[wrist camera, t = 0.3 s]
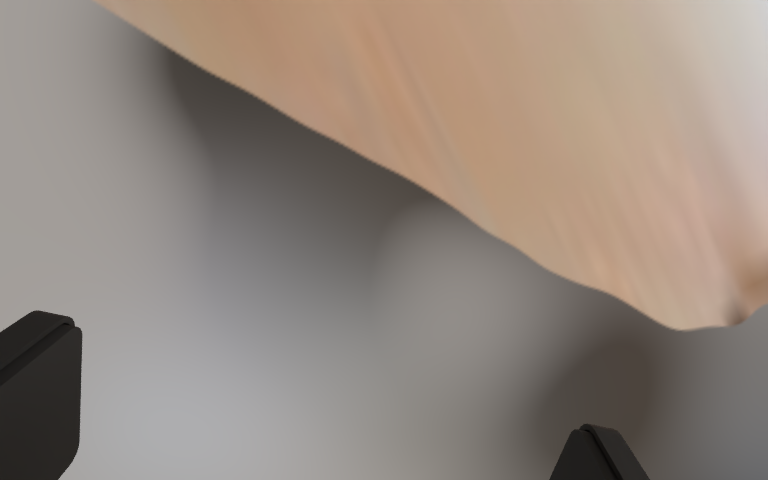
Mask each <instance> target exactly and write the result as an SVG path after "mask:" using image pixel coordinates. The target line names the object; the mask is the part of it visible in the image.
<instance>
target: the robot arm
mask: <svg viewBox="0 0 768 480" xmlns="http://www.w3.org/2000/svg"><path fill="white" fill-rule="evenodd" d="M81 361H82V331H81V329H80V328H79V327H75V324H74V321H73V319H72V318H70V317H68V316H63V315H58V314H53V313H48V312H43V311H33V312H31V313H29V314H27V315H26V316H24V317H23V318H21V319H20V320H18V321H17V322H15V323H14V324H12V325H11V326H9V327H8V328H6V329H5V330H3V331H2V332H0V480H58V479H59V478H60V476H61V475H62V474H63V473H64V472H65V470H66V469H67V468H68V467H69V465H70V464H71V463H72V461H73V459H74V457H75V455H76V453H77V450H78V446H79V437H80V434H79V433H80V399H81ZM550 480H650V479H649V478H648V476H647V474H646V473H645V471H644V470H643V468H642V467H641V465H640V464H639V462H638V461H637V459H636V457H635V456H634V454H633V453H632V451H631V450H630V448H629V446H628V445H627V443H626V442H625V440H624V439H623V437H622V436H621V434H620V433H619V432H618V431H616V430H614V429H611V428H606V427H600V426H596V425H591V424H584V425H582V426H581V427H580V429H579V430H573V431H572V432H571V434H570V436H569V438H568V440H567V442H566V444H565V447H564V449H563V451H562V453H561V455H560V458H559V460H558V462H557V464H556V466H555V468H554V471H553V473H552V475H551V477H550Z"/></svg>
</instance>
